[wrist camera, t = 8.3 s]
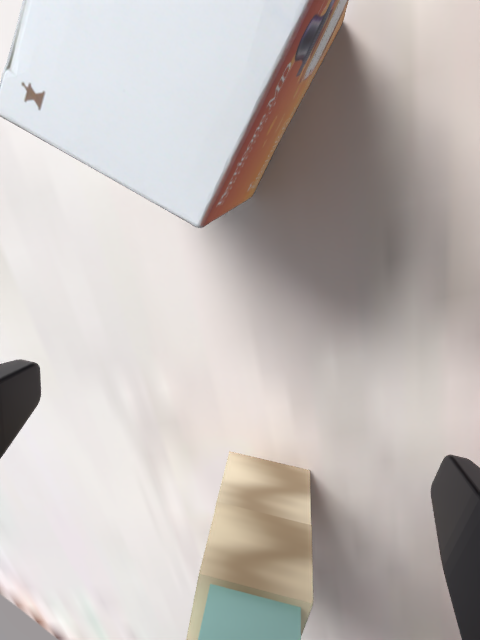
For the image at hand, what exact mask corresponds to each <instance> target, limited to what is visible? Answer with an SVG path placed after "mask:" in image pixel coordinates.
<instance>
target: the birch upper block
mask: <svg viewBox="0 0 480 640" xmlns="http://www.w3.org/2000/svg"><path fill="white" fill-rule="evenodd" d="M210 584H213V585H217V586H221V587H225V588H229V589H232V590H236V591H240V592H244V593H248V594H252V595H255V596H259V597H263V598H267V599H271V600H275V601H278V602H282V603H286V604H290V605H294V606H298V607H301V635H302V633H303V630H304V627H305V624H306V622H307V619H308V616H309V614H310V611H311V608H312V606H313V566H312V525H309V524H305V523H301V522H297V521H293V520H289V519H285V518H281V517H277V516H273V515H269V514H265V513H261V512H257V511H253V510H249V509H245V508H241V507H237V506H233V505H229V504H225V503H221V502H217V505H216V509H215V513H214V517H213V521H212V524H211V528H210V532H209V536H208V540H207V544H206V548H205V552H204V556H203V560H202V564H201V568H200V572H199V576H198V582H197V587H196V592H195V597H194V602H193V608H192V613H191V618H190V623H189V628H188V634H187V639H186V640H198V637H199V632H200V628H201V623H202V619H203V614H204V610H205V605H206V601H207V596H208V592H209V587H210Z"/></svg>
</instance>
